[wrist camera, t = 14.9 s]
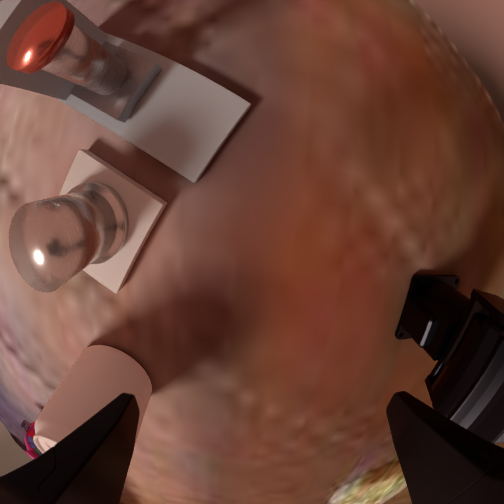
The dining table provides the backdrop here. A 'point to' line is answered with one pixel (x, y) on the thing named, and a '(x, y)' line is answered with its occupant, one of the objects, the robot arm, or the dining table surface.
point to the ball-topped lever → (81, 61)
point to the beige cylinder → (90, 392)
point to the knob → (67, 234)
